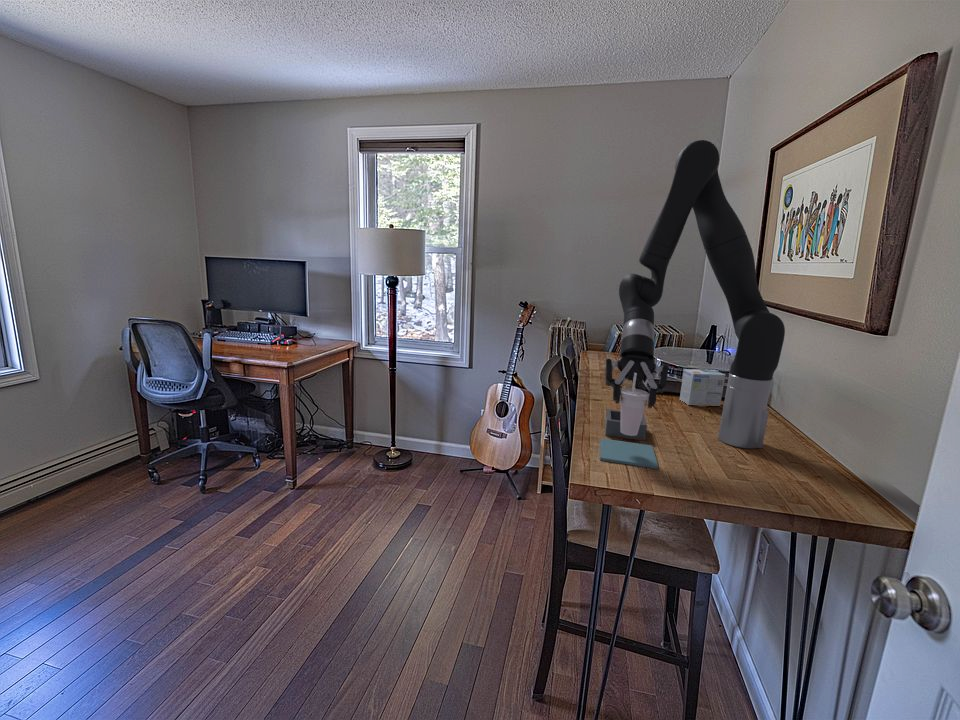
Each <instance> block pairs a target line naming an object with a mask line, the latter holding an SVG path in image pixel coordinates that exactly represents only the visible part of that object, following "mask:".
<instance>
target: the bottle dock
mask: <svg viewBox="0 0 960 720" xmlns="http://www.w3.org/2000/svg"><path fill="white" fill-rule="evenodd" d="M620 420H621V410H618V409H617V410H616V409H612V408H611V409H609V408H607V409H606V413H605V421H604V432H605V433H604V435H605V436H608V437H617V438H623V439H632V440H637V441H638V440H639V441H646V436H647V429H648V428H647V427H648V424H647V420H646V418H645V413H643V417H642V420H641V423H640V427H639V430H638V434H637V435H636V436H629V435H625V434H622V433H621V432H620Z"/></svg>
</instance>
